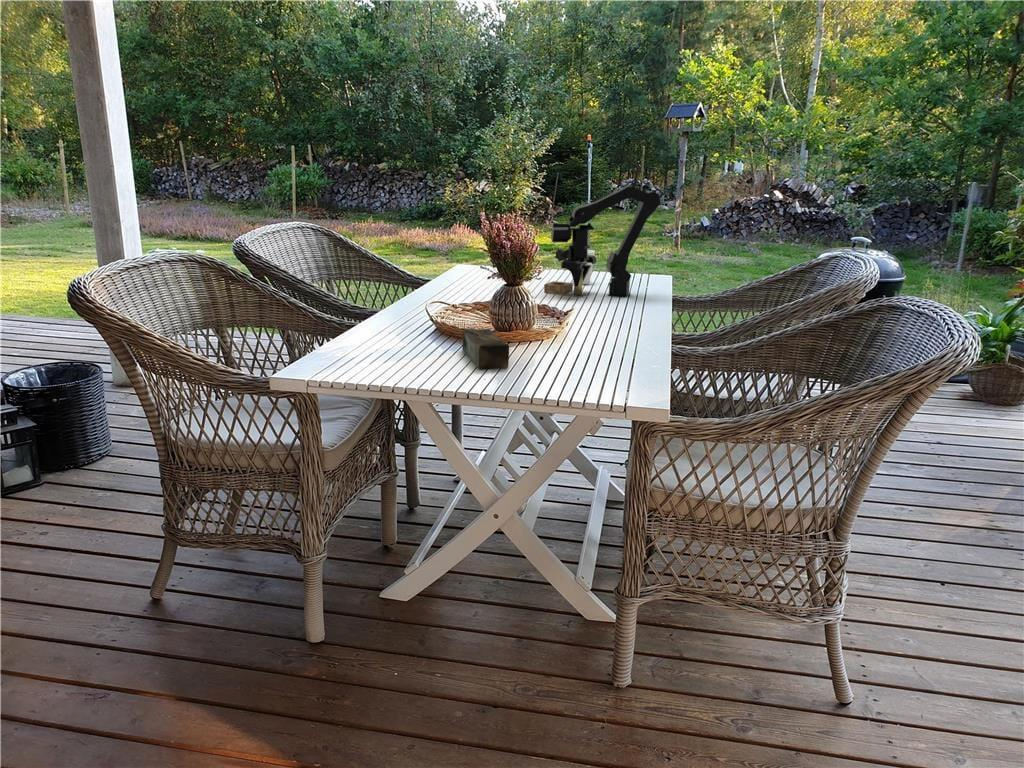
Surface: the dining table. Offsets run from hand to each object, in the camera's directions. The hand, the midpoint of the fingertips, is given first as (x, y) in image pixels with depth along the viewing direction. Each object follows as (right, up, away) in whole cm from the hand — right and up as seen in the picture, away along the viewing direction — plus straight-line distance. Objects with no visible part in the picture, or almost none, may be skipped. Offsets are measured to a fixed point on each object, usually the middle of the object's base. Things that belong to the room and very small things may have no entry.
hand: (578, 285), depth 273 cm
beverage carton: (-31, -30, -81) cm, 92 cm away
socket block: (-7, -2, +6) cm, 9 cm away
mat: (0, -4, +1) cm, 4 cm away
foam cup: (+4, +4, +26) cm, 26 cm away
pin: (0, -3, +1) cm, 4 cm away
